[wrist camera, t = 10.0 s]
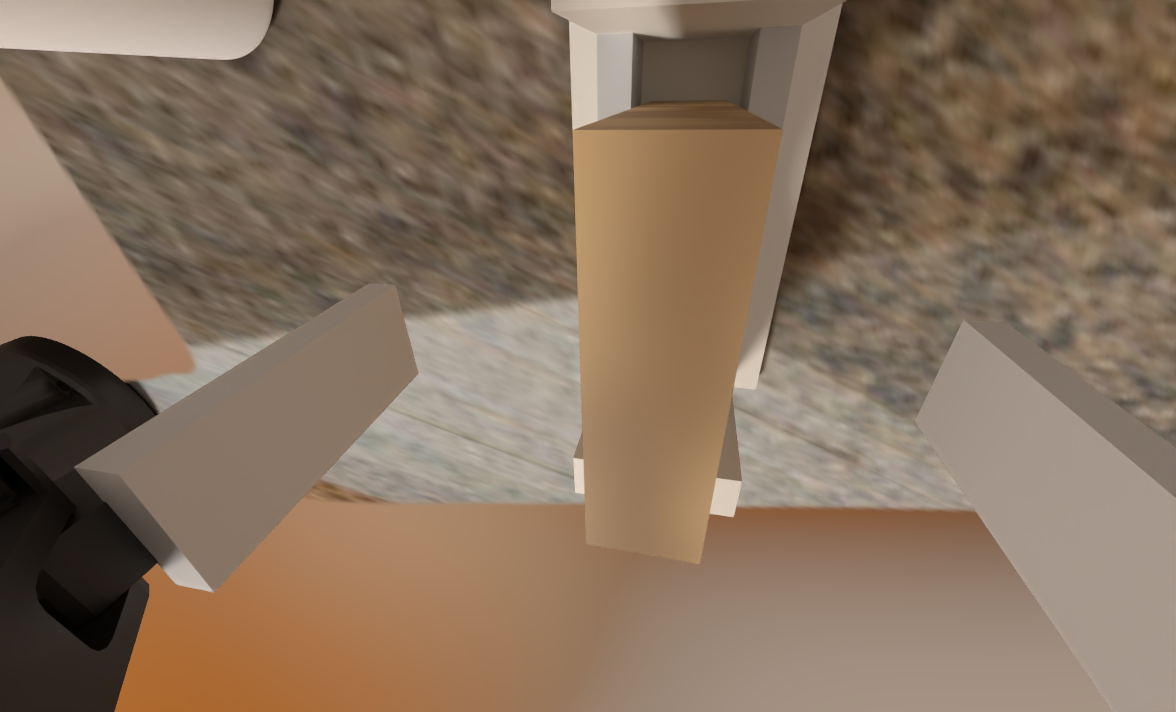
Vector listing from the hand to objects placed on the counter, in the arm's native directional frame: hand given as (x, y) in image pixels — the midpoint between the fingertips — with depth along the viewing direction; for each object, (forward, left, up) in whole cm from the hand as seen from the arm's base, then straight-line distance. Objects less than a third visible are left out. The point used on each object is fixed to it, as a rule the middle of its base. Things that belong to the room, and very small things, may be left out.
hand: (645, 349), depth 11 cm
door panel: (0, 0, -12) cm, 12 cm away
